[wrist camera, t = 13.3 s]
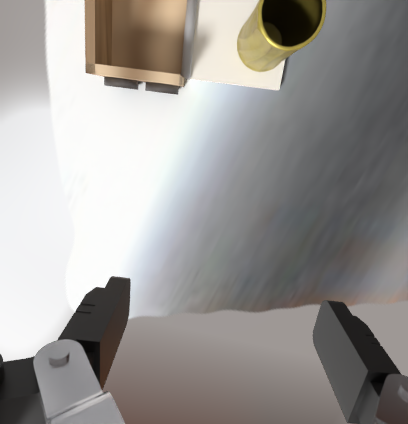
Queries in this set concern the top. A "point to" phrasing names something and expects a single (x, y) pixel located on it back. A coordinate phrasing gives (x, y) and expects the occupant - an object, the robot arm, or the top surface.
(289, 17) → the vase
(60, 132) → the top surface
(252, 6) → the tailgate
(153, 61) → the truck bed
